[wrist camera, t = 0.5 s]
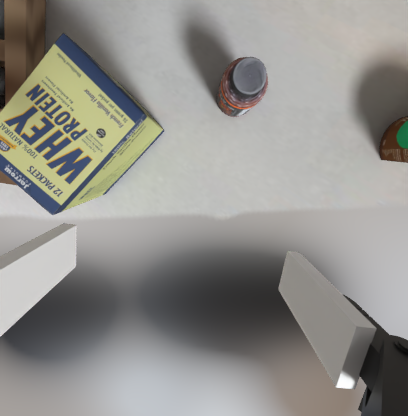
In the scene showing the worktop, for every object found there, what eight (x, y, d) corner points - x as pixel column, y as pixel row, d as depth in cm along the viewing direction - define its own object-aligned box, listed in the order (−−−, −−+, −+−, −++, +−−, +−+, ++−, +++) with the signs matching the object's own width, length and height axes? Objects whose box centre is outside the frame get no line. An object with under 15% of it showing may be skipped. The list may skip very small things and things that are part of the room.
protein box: (166, 129, 39) (146, 112, 24) (105, 195, 41) (51, 219, 26) (117, 80, 37) (62, 28, 22) (56, 152, 39) (-33, 149, 24)
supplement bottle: (208, 95, 38) (213, 70, 27) (237, 69, 37) (254, 33, 26) (231, 125, 39) (244, 113, 28) (260, 101, 38) (285, 78, 27)
